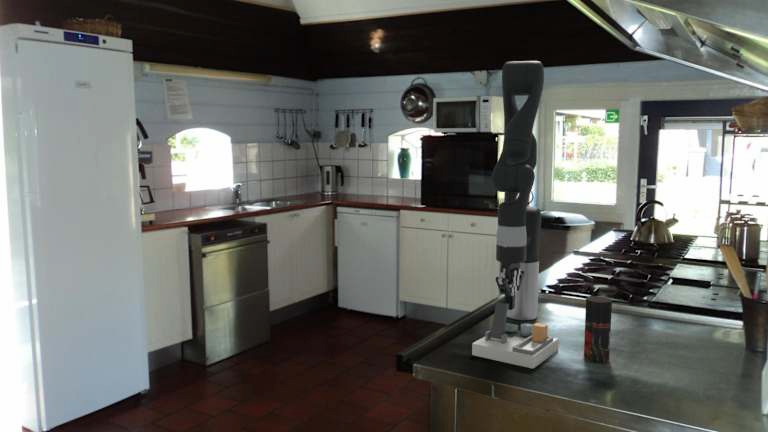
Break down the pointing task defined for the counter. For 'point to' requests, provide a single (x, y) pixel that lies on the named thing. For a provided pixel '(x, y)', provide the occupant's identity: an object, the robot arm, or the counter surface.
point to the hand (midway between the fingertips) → (509, 309)
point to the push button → (526, 329)
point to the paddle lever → (499, 320)
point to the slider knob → (539, 332)
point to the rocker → (511, 327)
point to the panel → (515, 349)
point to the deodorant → (597, 329)
